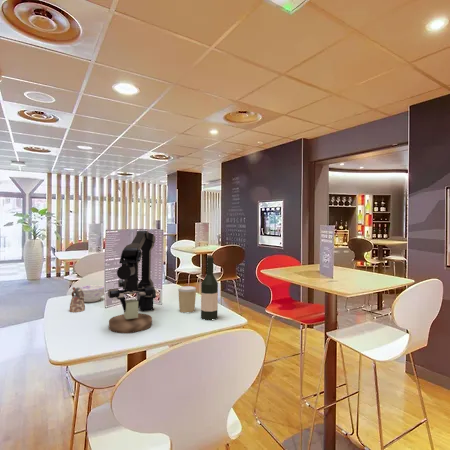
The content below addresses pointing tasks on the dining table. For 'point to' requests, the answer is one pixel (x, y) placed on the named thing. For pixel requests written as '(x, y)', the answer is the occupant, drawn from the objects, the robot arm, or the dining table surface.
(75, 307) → the figurine
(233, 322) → the dining table surface
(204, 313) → the wine bottle
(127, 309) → the sage block
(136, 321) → the walnut base
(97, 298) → the paper bowls
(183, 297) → the coffee cup
